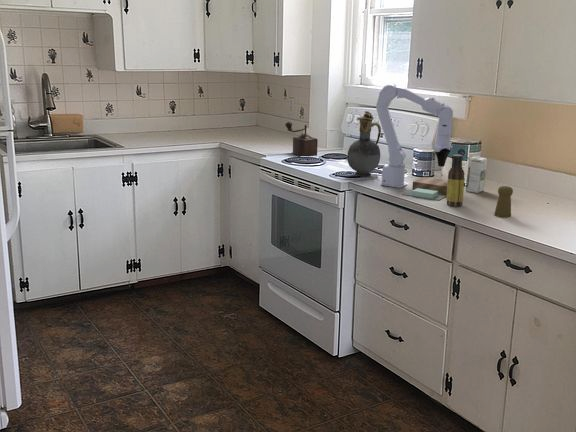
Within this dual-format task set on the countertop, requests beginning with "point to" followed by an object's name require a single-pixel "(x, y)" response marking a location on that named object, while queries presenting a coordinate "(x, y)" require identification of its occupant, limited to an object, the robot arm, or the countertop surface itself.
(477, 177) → the syrup box
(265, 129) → the countertop surface
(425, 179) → the deck
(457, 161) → the sauce bottle
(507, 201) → the cork
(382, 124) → the robot arm
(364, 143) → the pitcher
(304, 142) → the manual coffee grinder
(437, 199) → the mat
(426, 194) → the pale teal block
